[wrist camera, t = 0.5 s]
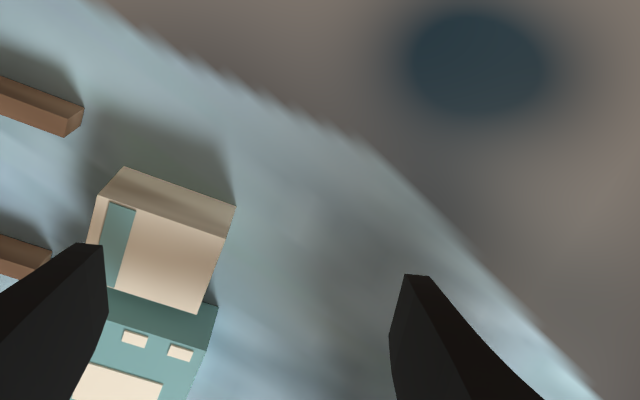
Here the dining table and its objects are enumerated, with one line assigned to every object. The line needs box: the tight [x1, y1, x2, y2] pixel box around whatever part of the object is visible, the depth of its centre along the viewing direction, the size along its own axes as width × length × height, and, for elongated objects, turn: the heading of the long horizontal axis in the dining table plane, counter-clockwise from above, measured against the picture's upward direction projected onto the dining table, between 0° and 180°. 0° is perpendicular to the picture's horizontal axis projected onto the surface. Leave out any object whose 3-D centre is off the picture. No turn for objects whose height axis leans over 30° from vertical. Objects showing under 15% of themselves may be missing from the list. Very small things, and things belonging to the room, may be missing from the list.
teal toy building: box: [70, 287, 219, 400], centre depth 24 cm, size 6×6×3 cm
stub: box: [85, 166, 236, 315], centre depth 22 cm, size 4×5×3 cm
